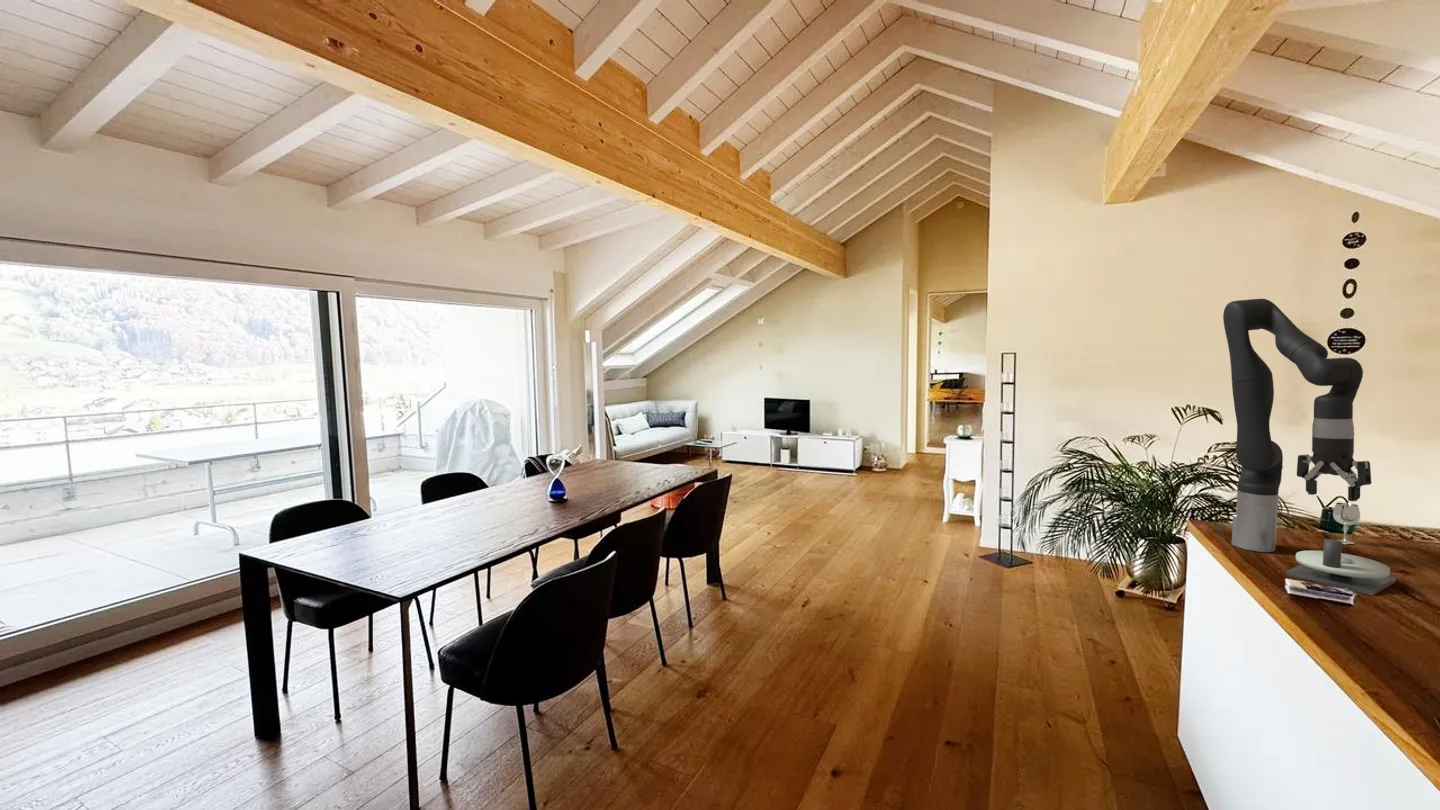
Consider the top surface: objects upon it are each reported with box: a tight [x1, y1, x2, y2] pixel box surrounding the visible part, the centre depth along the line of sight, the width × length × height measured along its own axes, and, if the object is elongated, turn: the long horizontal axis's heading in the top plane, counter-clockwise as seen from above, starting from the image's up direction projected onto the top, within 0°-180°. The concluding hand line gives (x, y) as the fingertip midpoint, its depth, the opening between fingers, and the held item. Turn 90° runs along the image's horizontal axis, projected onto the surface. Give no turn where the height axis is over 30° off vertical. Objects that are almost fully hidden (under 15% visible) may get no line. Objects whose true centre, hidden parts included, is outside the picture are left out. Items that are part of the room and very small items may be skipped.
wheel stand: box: [1286, 564, 1396, 596], centre depth 156 cm, size 16×16×3 cm
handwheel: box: [1295, 538, 1391, 578], centre depth 155 cm, size 17×17×8 cm
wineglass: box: [1332, 502, 1361, 545], centre depth 183 cm, size 6×6×12 cm
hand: (1332, 497), depth 154 cm, fingers open, 8 cm apart
